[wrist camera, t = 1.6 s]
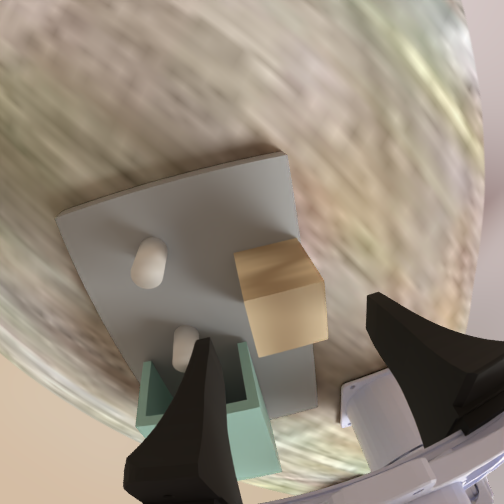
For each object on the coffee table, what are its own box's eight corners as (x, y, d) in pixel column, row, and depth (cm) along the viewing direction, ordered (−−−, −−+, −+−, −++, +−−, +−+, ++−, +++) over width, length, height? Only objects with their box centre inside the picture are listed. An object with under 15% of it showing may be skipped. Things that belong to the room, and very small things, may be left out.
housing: (246, 341, 20) (259, 407, 16) (269, 419, 25) (282, 471, 20) (143, 362, 20) (135, 426, 15) (190, 434, 25) (192, 486, 20)
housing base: (281, 151, 17) (302, 164, 13) (314, 397, 27) (326, 429, 23) (62, 211, 16) (34, 237, 13) (177, 426, 26) (177, 459, 23)
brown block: (296, 237, 18) (324, 280, 14) (303, 289, 20) (328, 339, 16) (233, 253, 18) (243, 301, 14) (246, 304, 19) (258, 357, 15)
